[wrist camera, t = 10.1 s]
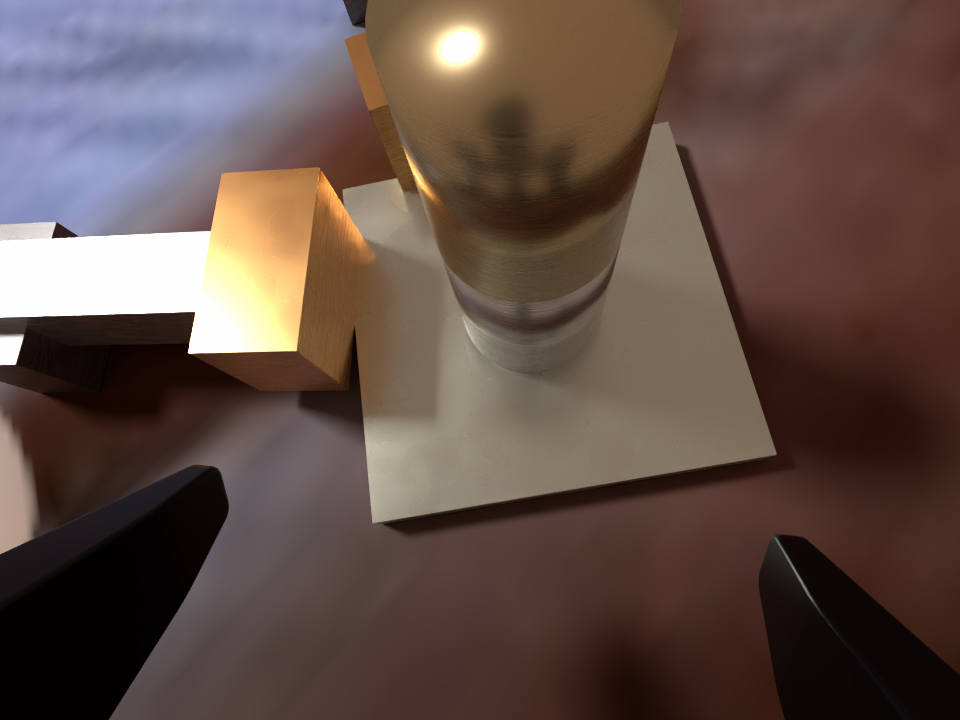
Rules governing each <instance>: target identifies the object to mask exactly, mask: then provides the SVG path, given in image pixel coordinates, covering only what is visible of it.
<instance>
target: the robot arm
mask: <svg viewBox="0 0 960 720" xmlns="http://www.w3.org/2000/svg"><path fill="white" fill-rule="evenodd" d="M228 510H229V503H228V498H227V494H226V491H225V487H224V483H223V479H222V475H221V472H220V471H219V470H218V468H216V467H212V466H204V465H192V466H189V467H187V468H185V469H183V470H181V471H179V472H177V473H174V474H172V475H170V476H168V477H166V478H164V479H161V480H159V481H157V482H155V483H153V484H151V485H149V486H146V487H144V488H142V489H140V490H138V491H136V492H133V493H131V494H129V495H127V496H125V497H123V498H121V499H118V500H116V501H114V502H112V503H110V504H108V505H105V506H103V507H101V508H99V509H97V510H95V511H93V512H90V513H88V514H86V515H84V516H82V517H80V518H77V519H75V520H73V521H71V522H69V523H67V524H65V525H62V526H60V527H58V528H56V529H54V530H52V531H49V532H47V533H45V534H43V535H41V536H39V537H37V538H34V539H32V540H30V541H28V542H26V543H24V544H21V545H19V546H17V547H15V548H13V549H11V550H9V551H6V552H4V553H2V554H0V720H109V718H110V717H111V715H112V714H113V712H114V711H115V709H116V707H117V706H118V704H119V703H120V701H121V700H122V698H123V696H124V695H125V693H126V692H127V690H128V688H129V687H130V685H131V684H132V682H133V681H134V679H135V677H136V676H137V674H138V673H139V671H140V670H141V668H142V666H143V665H144V663H145V662H146V660H147V658H148V657H149V655H150V654H151V652H152V651H153V649H154V647H155V646H156V644H157V643H158V641H159V640H160V638H161V636H162V635H163V633H164V632H165V630H166V628H167V627H168V625H169V624H170V622H171V621H172V619H173V617H174V616H175V614H176V613H177V611H178V609H179V608H180V606H181V604H182V603H183V601H184V599H185V598H186V596H187V594H188V592H189V590H190V589H191V587H192V585H193V583H194V581H195V579H196V577H197V575H198V573H199V571H200V569H201V567H202V565H203V563H204V561H205V559H206V557H207V555H208V553H209V551H210V549H211V547H212V546H213V544H214V542H215V540H216V538H217V536H218V534H219V532H220V530H221V528H222V526H223V524H224V522H225V520H226V517H227V515H228ZM759 591H760V597H761V603H762V609H763V614H764V620H765V626H766V631H767V637H768V643H769V649H770V654H771V660H772V666H773V672H774V677H775V682H776V687H777V692H778V696H779V699H780V703H781V707H782V711H783V714H784V718H785V720H960V675H959V674H958V673H957V672H956V671H955V670H954V669H952V668H951V667H950V666H949V665H948V664H947V663H946V662H945V661H943V660H942V659H941V658H940V657H939V656H938V655H937V654H935V653H934V652H933V651H932V650H931V649H930V648H929V647H928V646H926V645H925V644H924V643H923V642H922V641H921V640H920V639H919V638H917V637H916V636H915V635H914V634H913V633H912V632H911V631H910V630H908V629H907V628H906V627H905V626H904V625H903V624H902V623H901V622H899V621H898V620H897V619H896V618H895V617H894V616H893V615H891V614H890V613H889V612H888V611H887V610H886V609H885V608H884V607H882V606H881V605H880V604H879V603H878V602H877V601H876V600H875V599H873V598H872V597H871V596H870V595H869V594H868V593H867V592H866V591H864V590H863V589H862V588H861V587H860V586H859V585H858V584H857V583H855V582H854V581H853V580H852V579H851V578H850V577H849V576H847V575H846V574H845V573H844V572H843V571H842V570H841V569H840V568H838V567H837V566H836V565H835V564H834V563H833V562H832V561H831V560H829V559H828V558H827V557H826V556H825V555H824V554H823V553H822V552H820V551H819V550H818V549H817V548H816V547H815V546H814V545H813V544H811V543H810V542H809V541H808V540H806V539H805V538H803V537H799V536H791V535H783V534H776V535H774V536H773V537H772V538H771V540H770V542H769V545H768V548H767V551H766V554H765V557H764V560H763V564H762V567H761V570H760V573H759Z"/></svg>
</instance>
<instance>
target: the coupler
mask: <svg viewBox="0 0 960 720" xmlns="http://www.w3.org/2000/svg"><path fill="white" fill-rule="evenodd" d="M682 8H683V0H368V3H367V9H366V16H365V28H366V38H367V43H368V48H369V51H370V54H371V57H372V60H373V63H374V65H375V68H376V71H377V74H378V77H379V80H380V83H381V86H382V88H383V91H384V94H385V97H386V100H387V103H388V106H389V108H390V111H391V114H392V117H393V120H394V123H395V126H396V129H397V131H398V134H399V137H400V140H401V143H402V146H403V149H404V151H405V154H406V157H407V160H408V163H409V166H410V169H411V171H412V174H413V177H414V180H415V183H416V186H417V189H418V192H419V194H420V197H421V200H422V203H423V206H424V209H425V212H426V214H427V217H428V220H429V223H430V226H431V229H432V232H433V235H434V237H435V240H436V243H437V246H438V249H439V252H440V255H441V257H442V260H443V263H444V266H445V269H446V272H447V275H448V277H449V280H450V283H451V286H452V289H453V292H454V295H455V298H456V300H457V303H458V306H459V309H460V312H461V315H462V318H463V320H464V323H465V326H466V329H467V332H468V334H469V336H470V338H471V340H472V342H473V343H474V345H475V346H476V347H477V349H478V350H479V351H480V352H481V353H482V354H483V355H484V356H485V357H487V358H488V359H489V360H491V361H492V362H494V363H496V364H497V365H499V366H501V367H504V368H506V369H509V370H513V371H517V372H524V373H538V372H545V371H550V370H554V369H556V368H559V367H562V366H564V365H565V364H567V363H569V362H571V361H572V360H574V359H575V358H576V357H578V356H579V355H580V354H581V353H582V352H583V351H584V350H585V349H586V348H587V347H588V345H589V344H590V343H591V341H592V339H593V338H594V336H595V334H596V331H597V329H598V326H599V322H600V319H601V315H602V311H603V308H604V304H605V300H606V296H607V293H608V289H609V285H610V281H611V278H612V274H613V270H614V267H615V263H616V259H617V255H618V252H619V248H620V244H621V240H622V237H623V233H624V229H625V226H626V222H627V218H628V214H629V211H630V207H631V203H632V200H633V196H634V192H635V188H636V185H637V181H638V177H639V173H640V170H641V166H642V162H643V159H644V155H645V151H646V147H647V144H648V140H649V136H650V133H651V129H652V125H653V121H654V118H655V114H656V110H657V106H658V103H659V99H660V95H661V92H662V88H663V84H664V80H665V77H666V73H667V69H668V66H669V62H670V58H671V54H672V51H673V47H674V43H675V39H676V36H677V32H678V28H679V25H680V21H681V17H682Z"/></svg>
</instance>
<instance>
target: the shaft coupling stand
mask: <svg viewBox="0 0 960 720" xmlns="http://www.w3.org/2000/svg"><path fill="white" fill-rule="evenodd" d="M343 1H344V4H345V7H346V9H347V12H348V14H349V17H350V20H351V22H352V25H354V24H357V23H359V22H362V21H365V16H366V9H367V3H368V0H343ZM345 43H346V46H347V49H348V52H349V54H350V57H351V60H352V63H353V66H354V69H355V72H356V75H357V78H358V80H359V83H360V86H361V89H362V92H363V95H364V98H365V101H366V104H367V106H368V109H369V112H370V114H371V117H372V119H373V122H374V124H375V126H376V129H377V131H378V134H379V136H380V138H381V141H382V143H383V145H384V148H385V150H386V153H387V155H388V157H389V160H390V162H391V165H392V167H393V169H394V172H395V174H396V177H397V178H396V179H391V180H386V181H381V182H377V183H372V184H367V185H362V186H357V187H353V188H348V189H343V199H344V207H343V205H342V203H341V202H340V200H339V198H338V197H337V195H336V193H335V192H334V190H333V189H332V187H331V185H330V184H329V182H328V180H327V179H326V177H325V176H324V174H323V172H322V171H321V169H320V167H318V168H301V169H284V170H268V171H251V172H234V173H222V176H221V181H220V186H219V192H218V197H217V202H216V208H215V213H214V218H213V224H212V229H211V231H205V232H184V233H163V234H141V235H120V236H99V237H79V236H77V235H76V234H74V233H73V232H71V231H69V230H68V229H66V228H65V227H63V226H62V225H60V224H59V223H57V222H45V223H25V224H5V225H0V381H1V382H4V383H7V384H11V385H14V386H18V387H21V388H25V389H28V390H32V391H35V392H38V393H80V392H100V387H101V383H102V379H103V374H104V370H105V366H106V362H107V357H108V353H109V349H110V345H132V344H176V343H190V346H189V352H188V353H189V354H191V355H193V356H195V357H197V358H199V359H200V360H202V361H204V362H206V363H208V364H210V365H212V366H214V367H216V368H218V369H220V370H222V371H223V372H225V373H227V374H229V375H231V376H233V377H235V378H237V379H239V380H241V381H243V382H245V383H246V384H248V385H250V386H252V387H254V388H256V389H258V390H260V391H329V390H349V381H350V371H351V360H352V349H353V339H354V328H355V332H356V343H357V354H358V366H359V377H360V388H361V399H362V410H363V421H364V432H365V444H366V455H367V466H368V477H369V488H370V499H371V510H372V521H373V523H374V524H387V523H392V522H398V521H404V520H410V519H416V518H422V517H428V516H434V515H440V514H446V513H451V512H457V511H463V510H469V509H475V508H481V507H487V506H493V505H499V504H504V503H510V502H516V501H522V500H528V499H534V498H540V497H546V496H552V495H558V494H563V493H569V492H575V491H581V490H587V489H593V488H599V487H605V486H611V485H617V484H622V483H628V482H634V481H640V480H646V479H652V478H658V477H664V476H670V475H676V474H681V473H687V472H693V471H699V470H705V469H711V468H717V467H723V466H729V465H735V464H740V463H746V462H752V461H758V460H764V459H767V458H769V457H772V456H775V455H777V453H776V450H775V447H774V444H773V441H772V438H771V435H770V432H769V429H768V426H767V423H766V420H765V417H764V414H763V411H762V408H761V405H760V402H759V398H758V395H757V392H756V389H755V386H754V383H753V380H752V377H751V374H750V371H749V368H748V365H747V362H746V359H745V356H744V353H743V350H742V347H741V343H740V340H739V337H738V334H737V331H736V328H735V325H734V322H733V319H732V316H731V313H730V310H729V307H728V304H727V301H726V298H725V295H724V292H723V288H722V285H721V282H720V279H719V276H718V273H717V270H716V267H715V264H714V261H713V258H712V255H711V252H710V249H709V246H708V243H707V240H706V237H705V233H704V230H703V227H702V224H701V221H700V218H699V215H698V212H697V209H696V206H695V203H694V200H693V197H692V194H691V191H690V188H689V185H688V181H687V178H686V175H685V172H684V169H683V166H682V163H681V160H680V157H679V154H678V151H677V148H676V145H675V142H674V139H673V136H672V133H671V130H670V126H669V123H668V122H665V123H660V124H655V125H652V129H651V133H650V136H649V140H648V144H647V147H646V151H645V155H644V159H643V162H642V166H641V170H640V173H639V177H638V181H637V185H636V188H635V192H634V196H633V200H632V203H631V207H630V211H629V214H628V218H627V222H626V226H625V229H624V233H623V237H622V240H621V244H620V248H619V252H618V255H617V259H616V263H615V267H614V270H613V274H612V278H611V281H610V285H609V289H608V293H607V296H606V300H605V304H604V308H603V311H602V315H601V319H600V322H599V326H598V329H597V331H596V334H595V336H594V338H593V339H592V341H591V343H590V344H589V345H588V347H587V348H586V349H585V350H584V351H583V352H582V353H581V354H580V355H579V356H578V357H576V358H575V359H574V360H572V361H571V362H569V363H567V364H565V365H564V366H562V367H559V368H556V369H554V370H550V371H545V372H538V373H524V372H517V371H513V370H509V369H506V368H504V367H501V366H499V365H497V364H496V363H494V362H492V361H491V360H489V359H488V358H487V357H485V356H484V355H483V354H482V353H481V352H480V351H479V350H478V349H477V347H476V346H475V345H474V343H473V342H472V340H471V338H470V336H469V334H468V332H467V329H466V326H465V323H464V320H463V318H462V315H461V312H460V309H459V306H458V303H457V300H456V298H455V295H454V292H453V289H452V286H451V283H450V280H449V277H448V275H447V272H446V269H445V266H444V263H443V260H442V257H441V255H440V252H439V249H438V246H437V243H436V240H435V237H434V235H433V232H432V229H431V226H430V223H429V220H428V217H427V214H426V212H425V209H424V206H423V203H422V200H421V197H420V194H419V192H418V189H417V186H416V183H415V180H414V177H413V174H412V171H411V169H410V166H409V163H408V160H407V157H406V154H405V151H404V149H403V146H402V143H401V140H400V137H399V134H398V131H397V129H396V126H395V123H394V120H393V117H392V114H391V111H390V108H389V106H388V103H387V100H386V97H385V94H384V91H383V88H382V86H381V83H380V80H379V77H378V74H377V71H376V68H375V65H374V63H373V60H372V57H371V54H370V51H369V48H368V43H367V38H366V32H364V33H362V34H359V35H356V36H354V37H351V38H348V39H345Z"/></svg>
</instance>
